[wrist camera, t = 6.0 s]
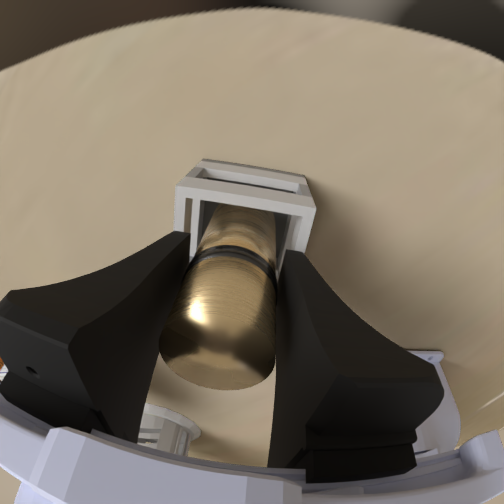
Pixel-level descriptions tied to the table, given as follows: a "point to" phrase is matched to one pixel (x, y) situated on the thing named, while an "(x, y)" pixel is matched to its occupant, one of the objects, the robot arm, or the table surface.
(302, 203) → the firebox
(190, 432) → the french press
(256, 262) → the gold domed cylinder
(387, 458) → the robot arm
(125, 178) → the table surface
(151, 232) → the table surface
